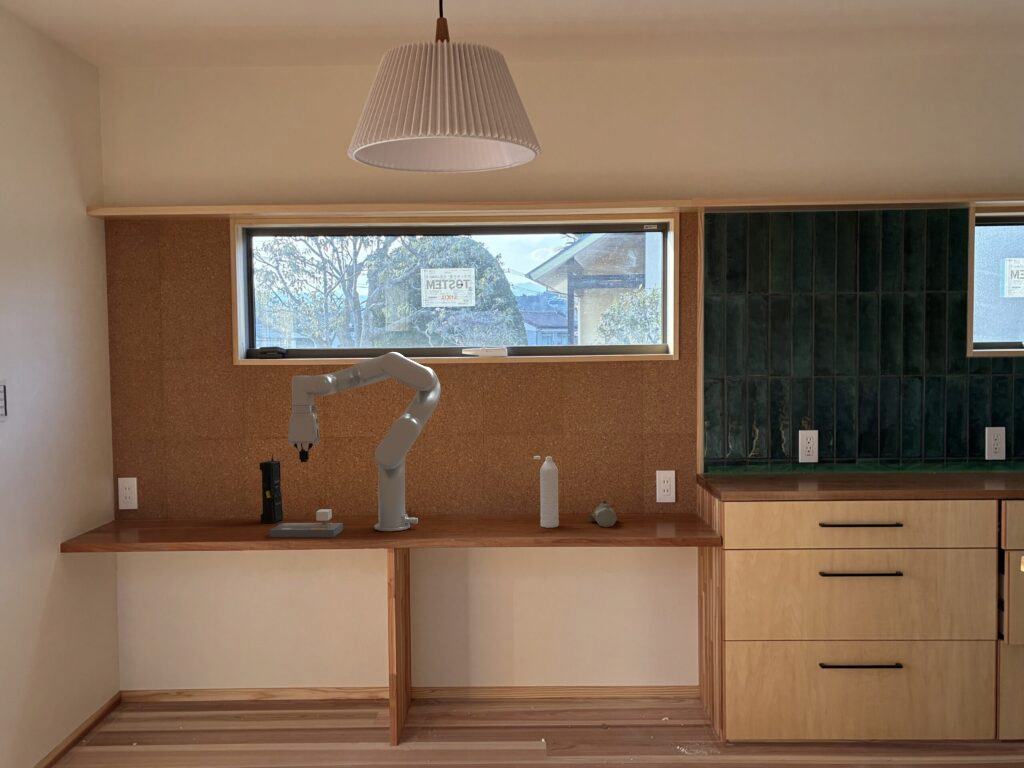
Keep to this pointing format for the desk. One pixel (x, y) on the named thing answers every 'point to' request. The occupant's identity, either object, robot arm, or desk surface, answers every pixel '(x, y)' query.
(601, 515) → the ceramic sculpture
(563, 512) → the desk surface
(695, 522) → the desk surface
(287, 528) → the fader console
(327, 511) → the fader knob
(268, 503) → the portable radio
